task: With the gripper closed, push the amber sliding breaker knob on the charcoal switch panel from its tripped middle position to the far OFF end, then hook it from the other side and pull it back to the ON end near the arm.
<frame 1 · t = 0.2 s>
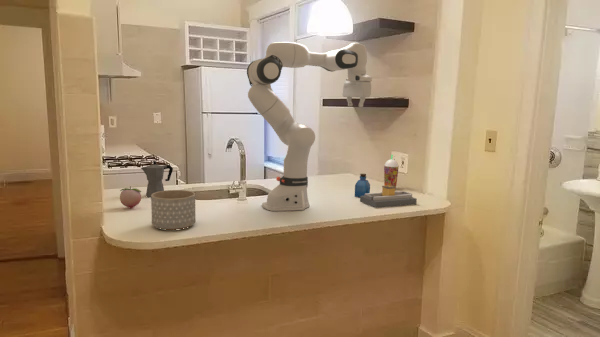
hand: (355, 106, 216), 47 cm above the counter, fingers open, 8 cm apart
breaker knob: (388, 191, 221), point 6 cm above the counter, slide at 0.0 cm
perfume bottle: (362, 196, 237), on the counter
coffeepot: (157, 196, 225), on the counter
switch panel: (387, 203, 222), on the counter
decorative fruit: (130, 208, 199), on the counter
planter: (174, 226, 174), on the counter
smoothie: (390, 188, 260), on the counter
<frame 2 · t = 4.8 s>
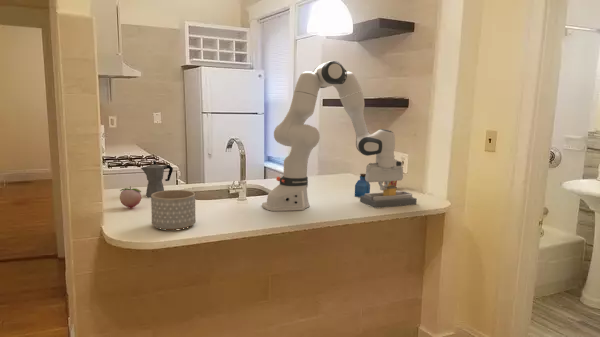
hand: (383, 190, 220), 7 cm above the counter, fingers closed
breaker knob: (389, 191, 222), point 6 cm above the counter, slide at 0.6 cm, touching gripper
everything else where it was.
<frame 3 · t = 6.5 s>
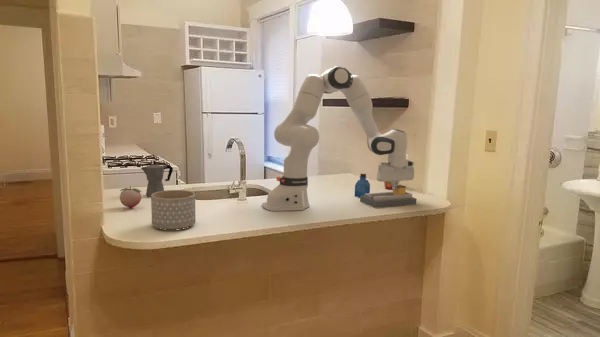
hand: (394, 189, 223), 7 cm above the counter, fingers closed, pressing on breaker knob
breaker knob: (399, 190, 224), point 6 cm above the counter, slide at 6.4 cm, touching gripper
everything else where it was.
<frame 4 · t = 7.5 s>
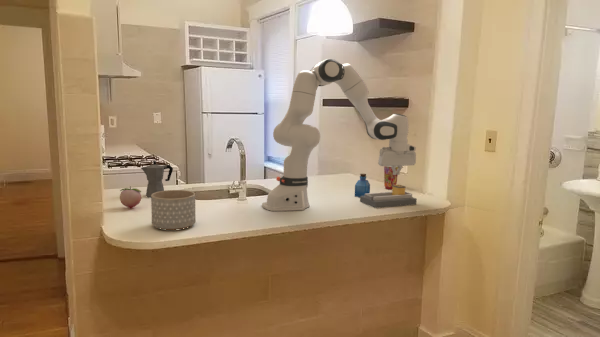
hand: (396, 174, 221), 14 cm above the counter, fingers closed
breaker knob: (398, 190, 224), point 6 cm above the counter, slide at 6.0 cm
everything else where it was.
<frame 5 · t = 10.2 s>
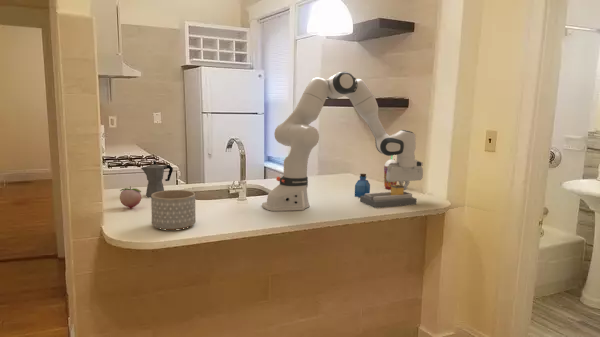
hand: (403, 189, 225), 6 cm above the counter, fingers closed
breaker knob: (397, 190, 223), point 6 cm above the counter, slide at 5.2 cm, touching gripper
everything else where it was.
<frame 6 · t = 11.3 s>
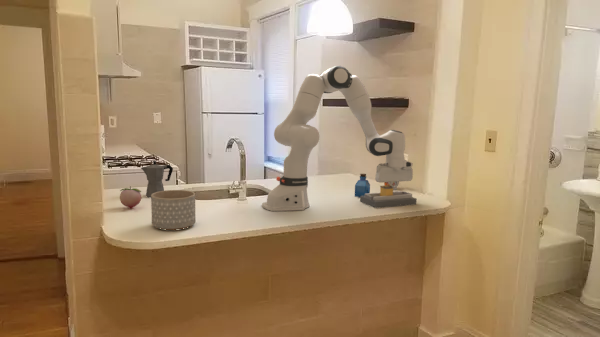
hand: (393, 190, 222), 6 cm above the counter, fingers closed
breaker knob: (386, 191, 221), point 6 cm above the counter, slide at -1.2 cm, touching gripper
everything else where it was.
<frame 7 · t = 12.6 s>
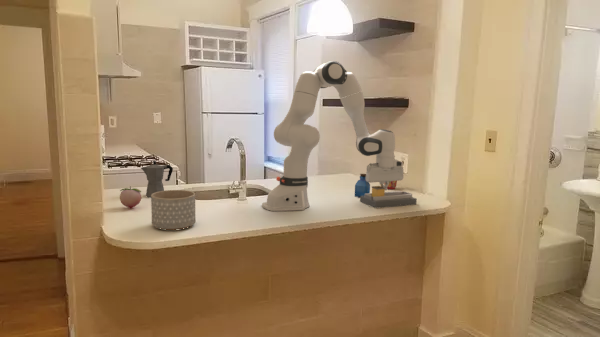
hand: (384, 190, 220), 7 cm above the counter, fingers closed
breaker knob: (378, 192, 219), point 6 cm above the counter, slide at -6.1 cm, touching gripper
everything else where it was.
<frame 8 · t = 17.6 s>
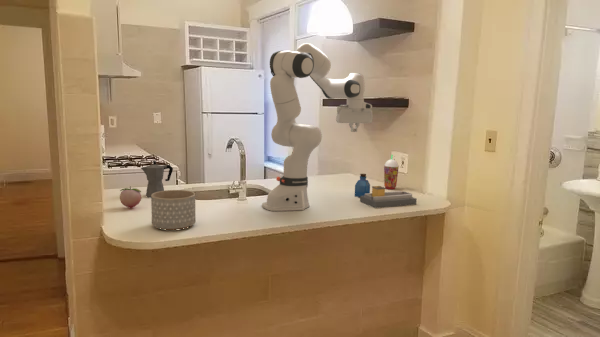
hand: (353, 131, 232), 34 cm above the counter, fingers closed
breaker knob: (378, 192, 219), point 6 cm above the counter, slide at -6.0 cm
everything else where it was.
at the end: breaker knob slide at -6.0 cm; perfume bottle moved 0.3 cm from its start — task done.
